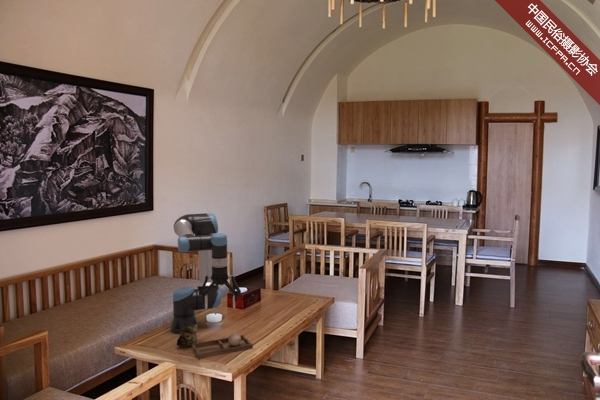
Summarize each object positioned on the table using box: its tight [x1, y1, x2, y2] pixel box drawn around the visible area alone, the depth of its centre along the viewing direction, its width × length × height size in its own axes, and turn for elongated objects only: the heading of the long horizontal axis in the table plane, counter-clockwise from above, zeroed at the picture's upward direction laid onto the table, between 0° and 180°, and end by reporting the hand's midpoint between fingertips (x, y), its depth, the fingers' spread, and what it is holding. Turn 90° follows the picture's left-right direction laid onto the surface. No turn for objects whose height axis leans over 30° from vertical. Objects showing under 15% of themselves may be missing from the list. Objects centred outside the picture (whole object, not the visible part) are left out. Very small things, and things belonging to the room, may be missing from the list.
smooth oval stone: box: [227, 332, 241, 346], centre depth 249 cm, size 7×7×7 cm
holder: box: [191, 334, 254, 361], centre depth 247 cm, size 14×27×3 cm, turn 117°
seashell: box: [176, 324, 198, 347], centre depth 253 cm, size 11×11×10 cm
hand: (220, 308), depth 240 cm, fingers open, 13 cm apart
